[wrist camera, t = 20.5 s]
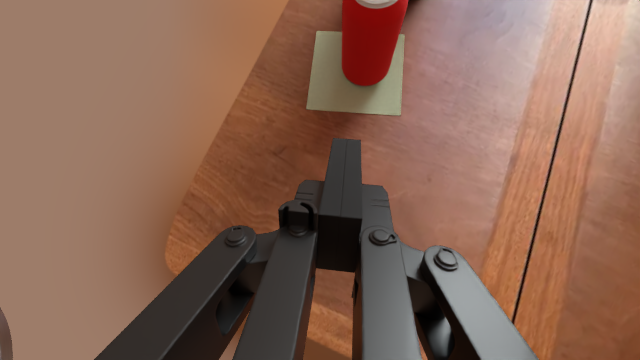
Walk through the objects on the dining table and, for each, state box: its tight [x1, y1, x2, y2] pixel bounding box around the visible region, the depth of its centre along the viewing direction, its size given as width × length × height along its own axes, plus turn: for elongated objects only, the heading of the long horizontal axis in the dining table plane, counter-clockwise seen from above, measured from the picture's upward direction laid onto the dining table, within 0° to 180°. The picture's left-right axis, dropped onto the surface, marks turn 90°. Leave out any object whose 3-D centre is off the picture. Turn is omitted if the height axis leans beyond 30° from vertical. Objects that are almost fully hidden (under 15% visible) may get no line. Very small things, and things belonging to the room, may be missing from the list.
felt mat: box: [306, 31, 404, 116], centre depth 35 cm, size 12×12×1 cm
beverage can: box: [342, 0, 408, 87], centre depth 29 cm, size 6×6×12 cm
